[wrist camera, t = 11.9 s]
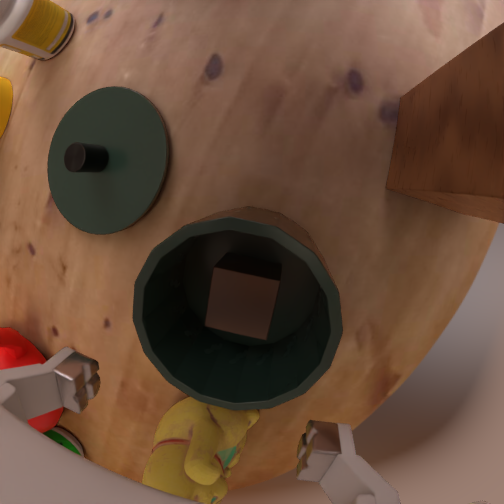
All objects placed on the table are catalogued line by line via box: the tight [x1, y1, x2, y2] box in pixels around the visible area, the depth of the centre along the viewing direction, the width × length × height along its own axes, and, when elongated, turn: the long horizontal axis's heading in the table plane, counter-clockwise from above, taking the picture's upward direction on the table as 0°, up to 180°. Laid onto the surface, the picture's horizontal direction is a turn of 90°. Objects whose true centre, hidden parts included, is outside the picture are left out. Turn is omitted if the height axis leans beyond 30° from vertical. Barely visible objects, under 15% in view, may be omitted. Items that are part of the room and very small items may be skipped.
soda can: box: [42, 427, 84, 457], centre depth 29 cm, size 8×8×12 cm
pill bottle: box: [0, 0, 75, 60], centre depth 17 cm, size 6×6×12 cm
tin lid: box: [48, 86, 169, 235], centre depth 22 cm, size 13×13×5 cm
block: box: [205, 252, 282, 340], centre depth 23 cm, size 4×4×4 cm
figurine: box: [142, 397, 259, 504], centre depth 22 cm, size 11×9×15 cm
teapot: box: [0, 327, 63, 433], centre depth 26 cm, size 25×16×12 cm, turn 153°
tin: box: [133, 206, 343, 411], centre depth 21 cm, size 12×12×8 cm
